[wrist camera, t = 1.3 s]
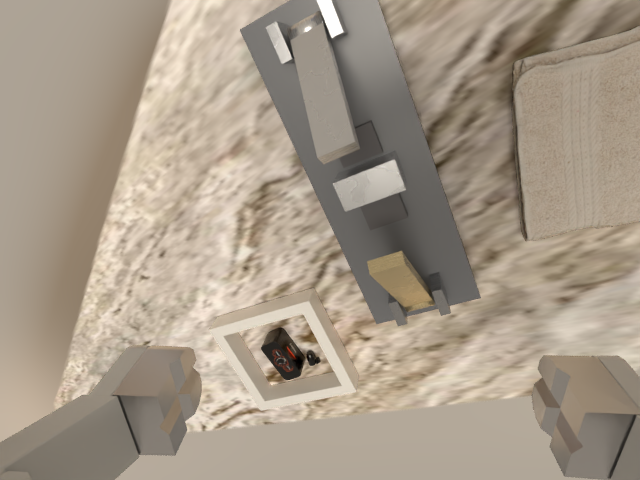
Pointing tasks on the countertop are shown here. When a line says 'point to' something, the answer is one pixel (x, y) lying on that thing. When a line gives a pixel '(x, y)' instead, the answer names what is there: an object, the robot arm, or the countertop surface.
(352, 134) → the steel strap
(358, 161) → the lug board
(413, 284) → the brass strap
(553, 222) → the washcloth
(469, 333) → the countertop surface
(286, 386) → the white square frame
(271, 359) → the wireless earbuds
